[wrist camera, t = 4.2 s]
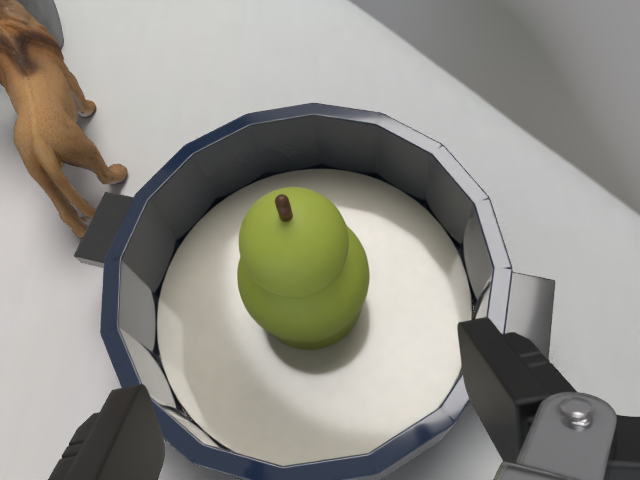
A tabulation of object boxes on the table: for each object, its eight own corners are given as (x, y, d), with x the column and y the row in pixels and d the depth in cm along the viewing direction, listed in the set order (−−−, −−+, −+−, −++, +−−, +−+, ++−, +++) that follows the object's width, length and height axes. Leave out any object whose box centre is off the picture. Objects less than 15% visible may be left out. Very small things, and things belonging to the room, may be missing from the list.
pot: (55, 423, 27) (-9, 404, 22) (185, 135, 34) (156, 78, 30) (502, 555, 23) (534, 564, 18) (540, 196, 30) (570, 140, 25)
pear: (236, 342, 27) (169, 257, 18) (272, 237, 30) (228, 116, 21) (355, 371, 26) (344, 295, 17) (381, 259, 28) (384, 141, 20)
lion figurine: (2, 107, 36) (-103, -8, 28) (74, 68, 37) (-8, -54, 29) (92, 268, 30) (-9, 179, 22) (175, 216, 31) (107, 112, 23)
